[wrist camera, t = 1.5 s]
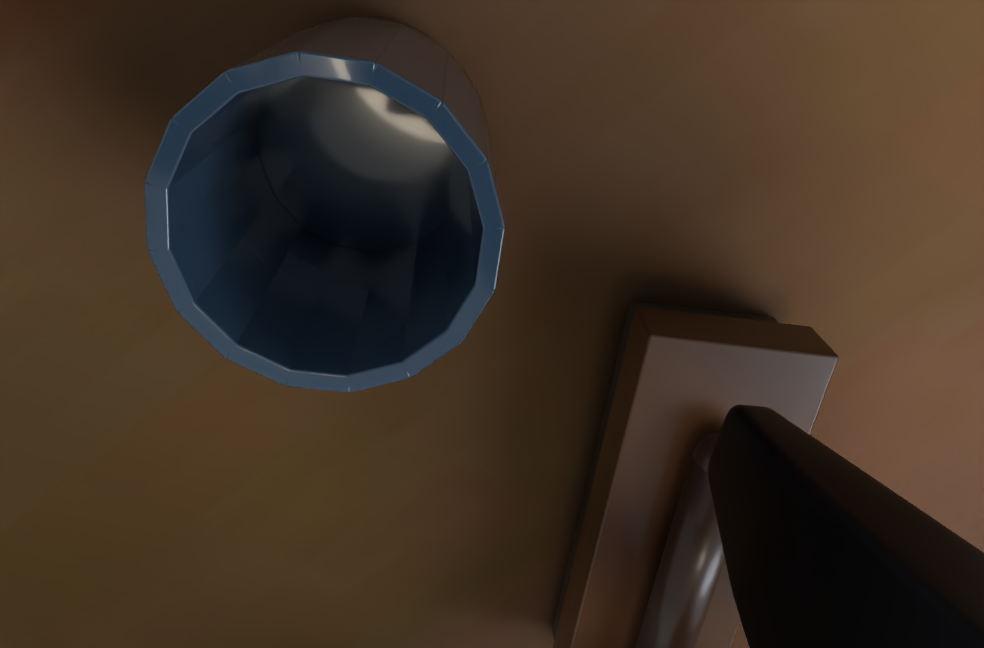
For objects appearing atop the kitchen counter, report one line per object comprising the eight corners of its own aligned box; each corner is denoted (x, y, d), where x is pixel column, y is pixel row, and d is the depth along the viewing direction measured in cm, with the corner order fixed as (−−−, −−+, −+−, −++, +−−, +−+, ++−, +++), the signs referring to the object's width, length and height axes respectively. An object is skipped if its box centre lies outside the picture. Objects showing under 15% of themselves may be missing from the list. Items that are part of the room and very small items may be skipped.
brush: (674, 647, 29) (715, 776, 24) (541, 637, 29) (557, 766, 24) (789, 302, 23) (870, 388, 19) (623, 282, 23) (665, 365, 18)
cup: (471, 267, 22) (477, 407, 15) (247, 240, 22) (151, 373, 15) (504, 36, 20) (528, 83, 13) (249, -2, 19) (136, 27, 12)
